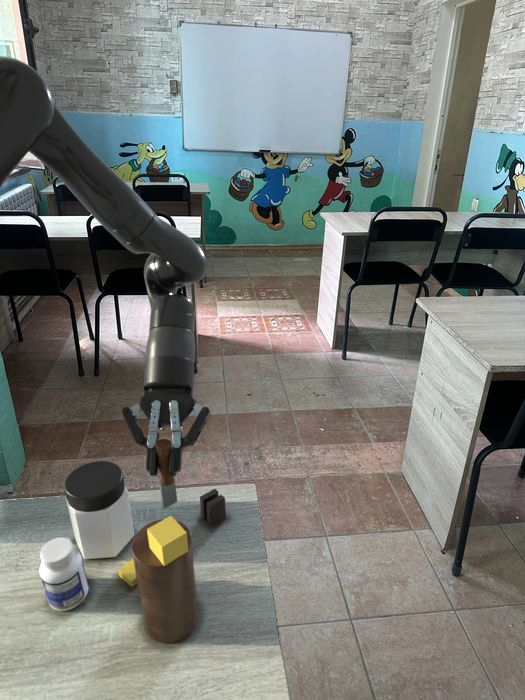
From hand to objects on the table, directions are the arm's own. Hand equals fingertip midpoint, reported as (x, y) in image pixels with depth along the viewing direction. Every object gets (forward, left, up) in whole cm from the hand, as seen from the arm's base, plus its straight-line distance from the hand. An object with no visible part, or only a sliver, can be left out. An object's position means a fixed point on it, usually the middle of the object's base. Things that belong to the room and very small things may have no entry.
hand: (163, 475), depth 69 cm
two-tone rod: (-2, +1, -8) cm, 8 cm away
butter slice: (+1, -8, -12) cm, 14 cm away
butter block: (+13, -7, +1) cm, 15 cm away
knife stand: (+1, +8, -13) cm, 15 cm away
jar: (-7, -8, -13) cm, 16 cm away
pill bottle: (-1, -16, -13) cm, 20 cm away
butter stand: (+11, -7, -13) cm, 18 cm away
